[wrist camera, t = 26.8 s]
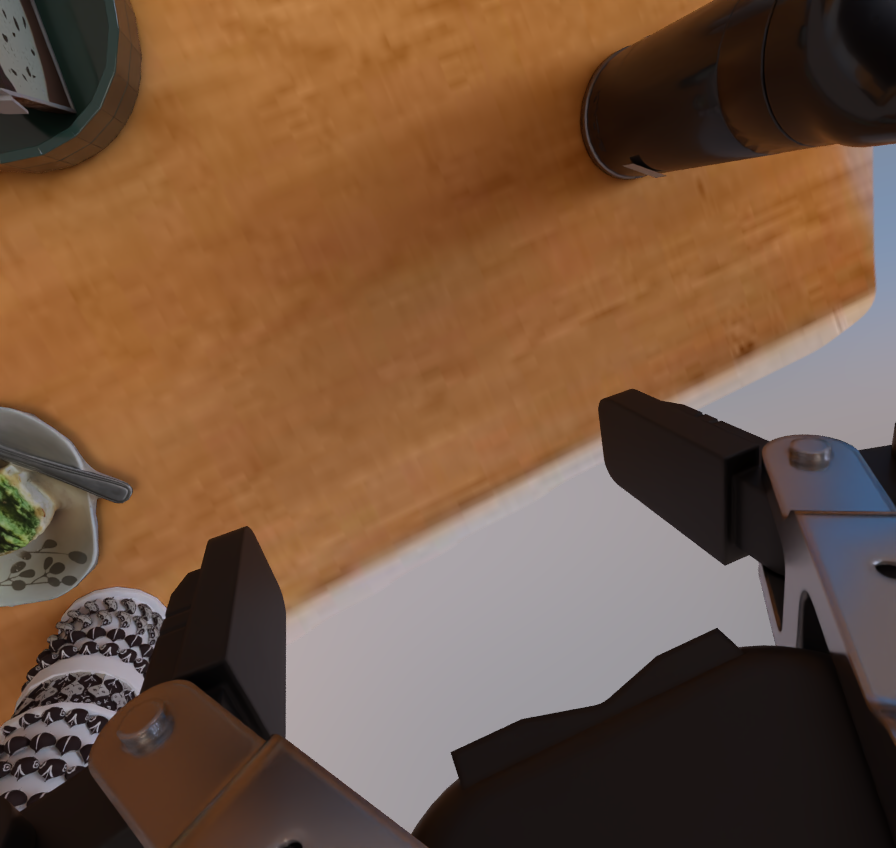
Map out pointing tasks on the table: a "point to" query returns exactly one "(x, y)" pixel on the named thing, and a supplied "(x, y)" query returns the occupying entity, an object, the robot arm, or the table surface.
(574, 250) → the table surface
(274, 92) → the table surface
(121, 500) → the salad plate
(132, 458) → the table surface
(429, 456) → the table surface
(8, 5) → the food container
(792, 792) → the robot arm
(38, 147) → the bowl
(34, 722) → the decorative candle
